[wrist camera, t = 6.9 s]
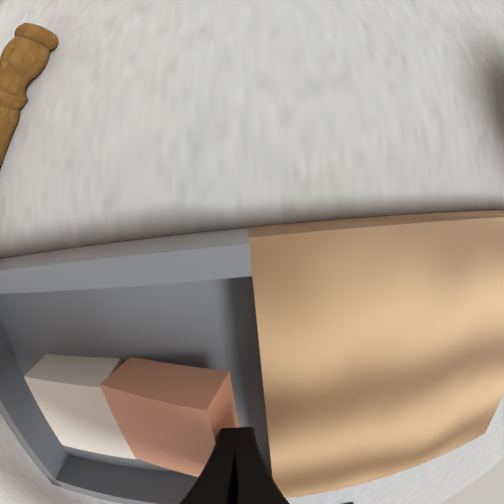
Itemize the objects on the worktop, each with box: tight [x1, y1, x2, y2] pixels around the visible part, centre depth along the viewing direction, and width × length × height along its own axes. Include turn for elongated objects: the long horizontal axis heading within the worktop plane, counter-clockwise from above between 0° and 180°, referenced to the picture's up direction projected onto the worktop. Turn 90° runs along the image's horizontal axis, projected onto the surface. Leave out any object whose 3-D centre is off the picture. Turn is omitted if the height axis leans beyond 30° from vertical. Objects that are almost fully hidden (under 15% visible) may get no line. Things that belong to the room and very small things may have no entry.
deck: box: [248, 210, 504, 498], centre depth 13 cm, size 16×16×2 cm
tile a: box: [100, 357, 239, 477], centre depth 11 cm, size 5×5×2 cm
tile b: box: [24, 354, 137, 459], centre depth 12 cm, size 5×5×2 cm
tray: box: [0, 227, 273, 504], centre depth 12 cm, size 16×16×4 cm
